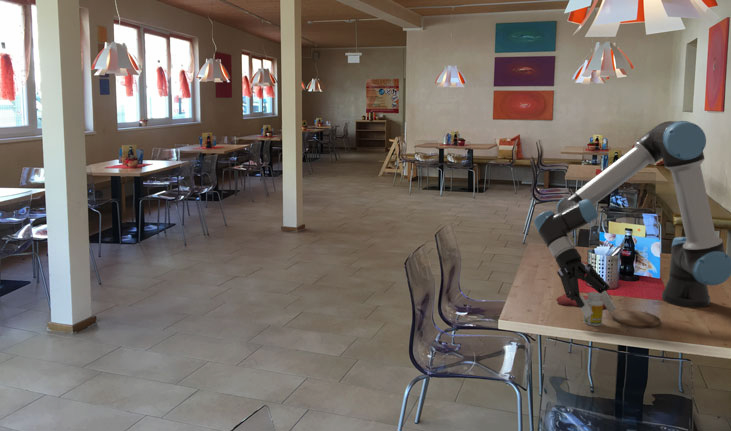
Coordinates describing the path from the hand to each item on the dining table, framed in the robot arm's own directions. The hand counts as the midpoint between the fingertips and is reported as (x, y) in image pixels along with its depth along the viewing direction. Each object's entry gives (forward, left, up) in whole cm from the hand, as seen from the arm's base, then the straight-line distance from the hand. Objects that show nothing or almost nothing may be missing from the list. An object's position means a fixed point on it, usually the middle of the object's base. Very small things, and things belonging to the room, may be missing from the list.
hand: (601, 313), depth 191 cm
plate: (-14, -2, -4) cm, 15 cm away
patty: (-9, -23, -5) cm, 25 cm away
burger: (-37, -71, -4) cm, 80 cm away
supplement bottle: (+1, -3, -4) cm, 5 cm away
